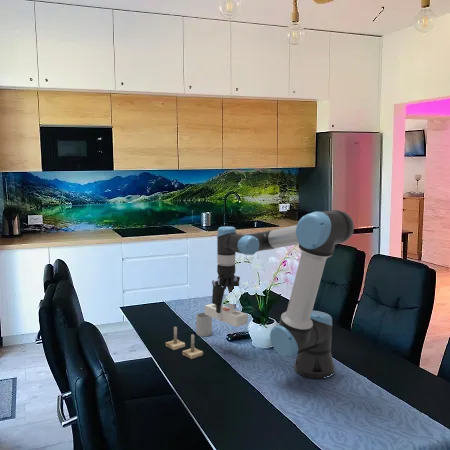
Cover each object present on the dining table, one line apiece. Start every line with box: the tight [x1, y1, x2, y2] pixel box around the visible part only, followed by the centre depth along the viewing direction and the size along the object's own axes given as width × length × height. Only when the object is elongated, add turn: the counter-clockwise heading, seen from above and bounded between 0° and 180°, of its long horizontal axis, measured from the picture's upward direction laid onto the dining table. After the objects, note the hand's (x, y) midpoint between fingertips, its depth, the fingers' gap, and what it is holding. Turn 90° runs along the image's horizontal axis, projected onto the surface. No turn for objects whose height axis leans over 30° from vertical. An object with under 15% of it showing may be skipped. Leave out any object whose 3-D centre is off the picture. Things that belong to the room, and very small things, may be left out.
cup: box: [195, 312, 213, 337], centre depth 227 cm, size 7×10×9 cm
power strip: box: [204, 303, 249, 328], centre depth 205 cm, size 20×6×5 cm, turn 42°
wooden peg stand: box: [165, 326, 204, 360], centre depth 206 cm, size 18×6×8 cm, turn 42°
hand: (225, 318), depth 205 cm, fingers closed on power strip, 6 cm apart
